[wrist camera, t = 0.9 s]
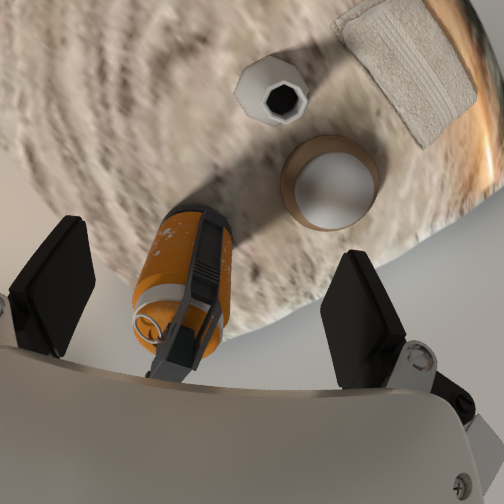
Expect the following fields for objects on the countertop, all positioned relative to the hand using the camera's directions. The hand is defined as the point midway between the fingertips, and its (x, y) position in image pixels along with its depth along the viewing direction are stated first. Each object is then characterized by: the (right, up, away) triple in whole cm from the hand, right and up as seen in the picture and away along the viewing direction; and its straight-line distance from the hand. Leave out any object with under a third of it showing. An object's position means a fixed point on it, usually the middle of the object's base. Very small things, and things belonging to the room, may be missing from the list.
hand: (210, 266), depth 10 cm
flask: (+3, +17, +16) cm, 24 cm away
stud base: (+10, +9, +22) cm, 26 cm away
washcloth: (+19, +22, +14) cm, 32 cm away
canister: (-5, +4, +26) cm, 26 cm away
